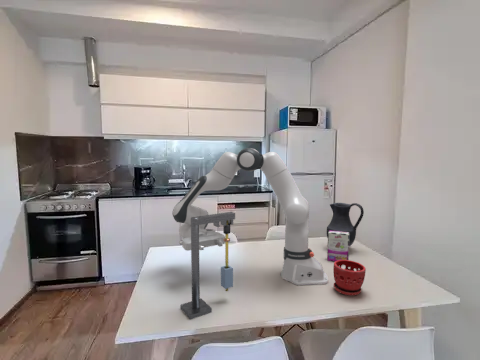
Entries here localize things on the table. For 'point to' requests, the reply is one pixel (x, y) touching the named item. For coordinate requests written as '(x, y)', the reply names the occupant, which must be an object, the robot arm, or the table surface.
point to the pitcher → (344, 220)
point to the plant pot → (348, 277)
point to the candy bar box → (338, 246)
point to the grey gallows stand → (197, 304)
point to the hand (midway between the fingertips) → (211, 246)
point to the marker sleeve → (226, 277)
